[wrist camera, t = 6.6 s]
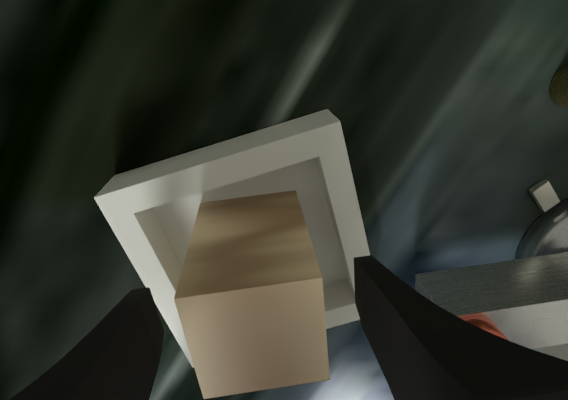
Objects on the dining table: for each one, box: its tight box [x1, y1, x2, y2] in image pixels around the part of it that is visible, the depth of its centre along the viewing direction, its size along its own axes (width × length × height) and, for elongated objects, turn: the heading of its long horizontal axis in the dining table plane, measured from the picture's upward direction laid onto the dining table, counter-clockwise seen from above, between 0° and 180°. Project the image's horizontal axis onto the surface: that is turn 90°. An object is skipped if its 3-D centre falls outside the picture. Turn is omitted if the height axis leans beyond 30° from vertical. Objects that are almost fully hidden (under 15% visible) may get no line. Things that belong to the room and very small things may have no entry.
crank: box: [415, 252, 568, 349], centre depth 15 cm, size 11×4×4 cm, turn 96°
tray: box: [94, 109, 370, 368], centre depth 16 cm, size 9×9×2 cm
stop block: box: [174, 190, 330, 399], centre depth 13 cm, size 4×4×6 cm
